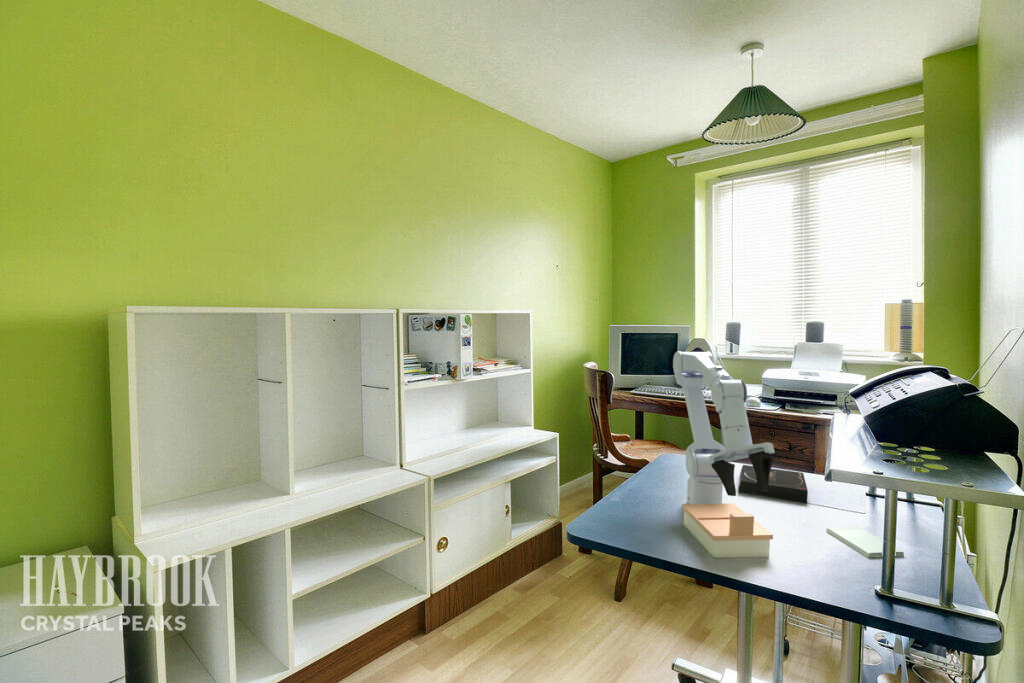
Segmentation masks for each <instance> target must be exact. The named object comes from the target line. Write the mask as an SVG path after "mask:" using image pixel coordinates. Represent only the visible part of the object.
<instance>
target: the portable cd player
mask: <svg viewBox="0 0 1024 683" xmlns="http://www.w3.org/2000/svg"><path fill="white" fill-rule="evenodd" d="M738 480H739V481H738V482H739V483H738V492H739V493H741V494H746V495H753V496H759V497H766V498H771V499H777V500H782V501H783V500H784V501H790V502H796V503H803V504H808V491H809V490H808V485H807V482H806V479H805V475H804V472H799V471H792V470H785V469H778V468H771V470H770V475H769V486H768V491H761V490H759V487H758V483H757V479H756V474H755V470H754V467H753V465H747V464H742V467H741V470H740V473H739V479H738Z"/></svg>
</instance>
